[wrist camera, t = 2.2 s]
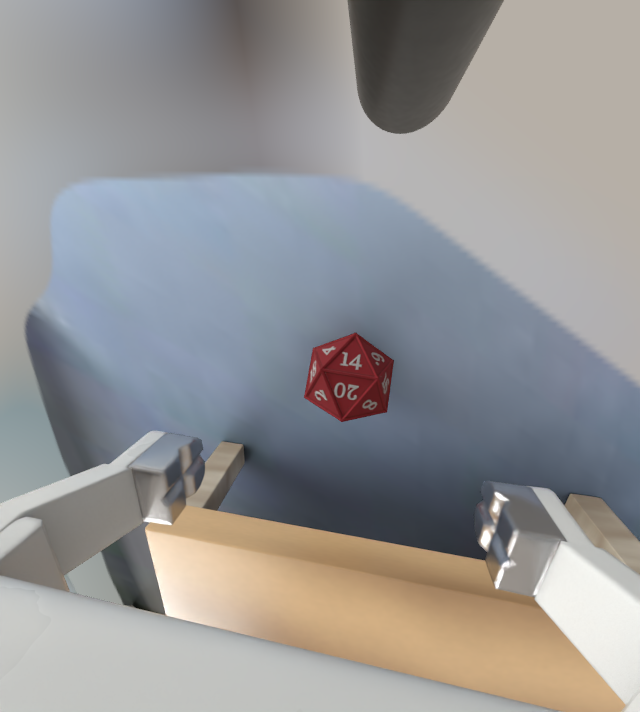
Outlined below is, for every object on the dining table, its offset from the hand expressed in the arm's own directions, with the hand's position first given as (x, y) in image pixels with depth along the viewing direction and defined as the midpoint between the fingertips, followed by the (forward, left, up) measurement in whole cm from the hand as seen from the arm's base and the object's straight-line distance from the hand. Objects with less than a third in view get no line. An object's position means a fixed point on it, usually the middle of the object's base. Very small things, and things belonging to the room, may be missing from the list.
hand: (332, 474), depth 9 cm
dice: (-1, 0, -8) cm, 8 cm away
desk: (+12, +3, -8) cm, 15 cm away
